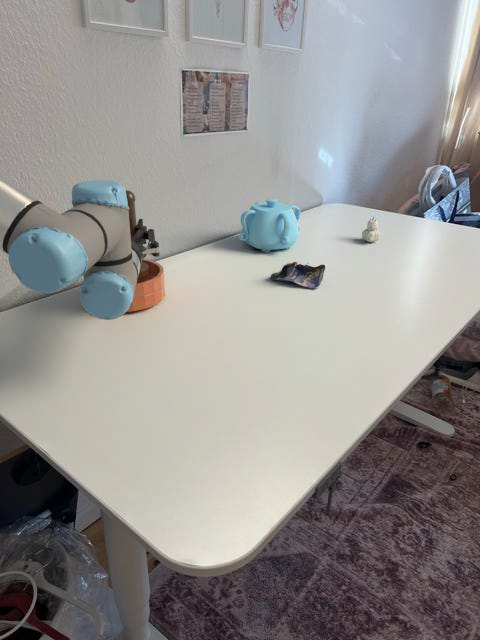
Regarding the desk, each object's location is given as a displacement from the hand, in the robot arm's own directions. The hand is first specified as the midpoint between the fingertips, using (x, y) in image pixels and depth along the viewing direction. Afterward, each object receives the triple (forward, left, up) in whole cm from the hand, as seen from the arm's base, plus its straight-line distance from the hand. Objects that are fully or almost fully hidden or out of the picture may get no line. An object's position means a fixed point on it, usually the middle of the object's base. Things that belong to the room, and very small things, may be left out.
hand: (132, 225), depth 103 cm
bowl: (-1, -5, -15) cm, 16 cm away
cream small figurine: (+58, +46, -15) cm, 76 cm away
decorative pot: (+28, +37, -15) cm, 49 cm away
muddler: (+1, -5, -9) cm, 11 cm away
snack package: (+36, +11, -15) cm, 41 cm away
